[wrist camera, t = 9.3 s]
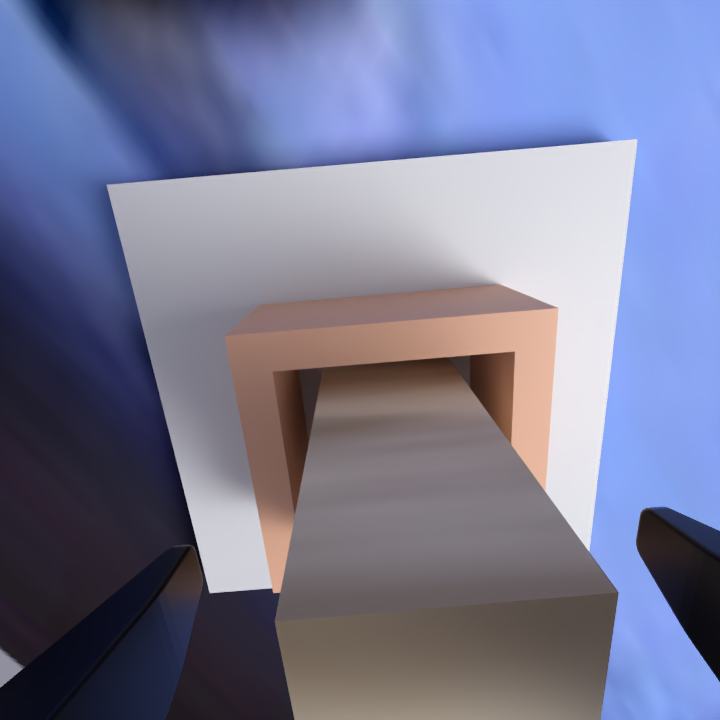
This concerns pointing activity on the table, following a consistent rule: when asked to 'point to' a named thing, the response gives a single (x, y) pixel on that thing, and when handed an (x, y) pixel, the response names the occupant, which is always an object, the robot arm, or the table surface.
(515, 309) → the socket stand
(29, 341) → the table surface
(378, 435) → the birch peg
